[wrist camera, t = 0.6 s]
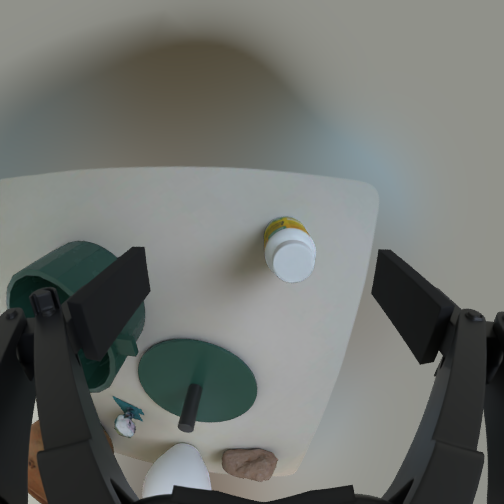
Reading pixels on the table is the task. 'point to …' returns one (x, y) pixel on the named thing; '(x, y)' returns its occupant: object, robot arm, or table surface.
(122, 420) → the figurine
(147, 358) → the stewpot lid
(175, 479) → the vase
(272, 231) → the supplement bottle
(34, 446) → the pot
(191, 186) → the table surface
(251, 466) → the stone
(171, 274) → the table surface
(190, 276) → the table surface
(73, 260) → the stewpot
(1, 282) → the table surface
